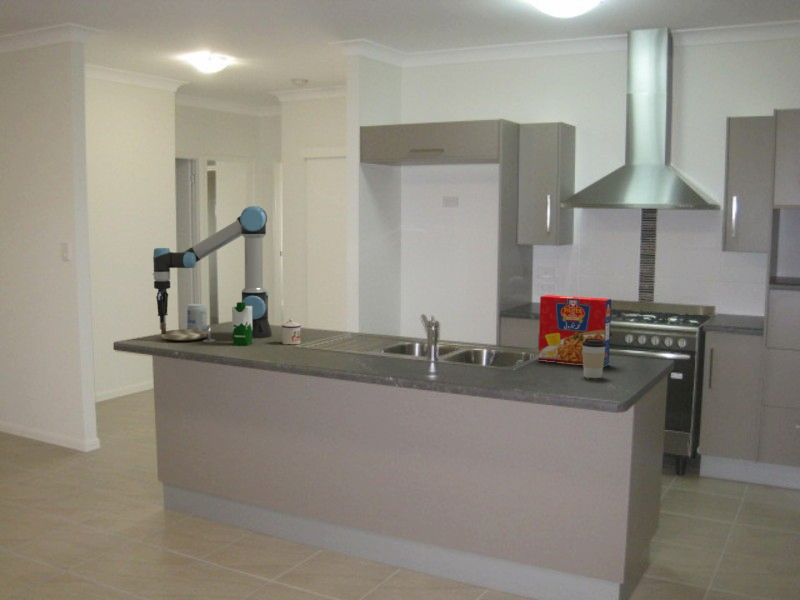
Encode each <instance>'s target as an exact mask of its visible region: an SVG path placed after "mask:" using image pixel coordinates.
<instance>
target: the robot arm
mask: <svg viewBox="0 0 800 600" xmlns="http://www.w3.org/2000/svg"><path fill="white" fill-rule="evenodd" d="M267 222H268V215H267V212H266V211H265V210H264V209H263V208H262V207H260V206H255V205H250V206H247V207H245V208H244V209H243V210H242V211H241V214H240V215H239V216H238V217H237V218H236V221H233V222H231V223H230V224H229V225H227V226H225V227H223V228H222V229H220V230H218V231H217V232H215V233H213V234H212V235H209V236H207V237H206V238H205V239H203V240H201V241H200V242H198V243H196V244H194V245H193V246H192V247H190V248H188V249H185V251H181V252H178V251H177V252H176V251H175V252H172V251H170V248H167V247H155V248H154V249H153V257H152V258H153V259H152V261H153V273H152V275H153V280H154V281H153V288H154V289H156V290H157V293H156V303H157V304H156V305H157V317H159V329H160V330H161V323H166V324H167V316H168V315H169V314H168V302H169V293H168V289H170V288H171V269H194V268H195V267H196V263H198V262H199V261H201V260H203V259H205V258H206V257H207V256H209V255H211V254H213V253H215V252H216V251H217V250H220V249H221V248H223V247H225V246H226V245H229V244H230V243H232V242H233V241H234V240H236V239H238V238H240V237H243V238H244V288H243V289H242V290H241V302H245V306H252V339H253V338H254V339H257V338H260V339H261V338H269V337H272V336H273V333H272V332H273V331H272V328H271V326H270V322H269V292H268V291H267V290H265V288H264V275H263V273H264V270H263V267H264V265H263V264H264V261H263V260H264V252H263V250H264V249H263V248H264V247H263V246H264V242H263V240H264V237H265V236H266V235H267Z"/></svg>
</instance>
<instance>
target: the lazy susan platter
mask: <svg viewBox="0 0 800 600" xmlns="http://www.w3.org/2000/svg"><path fill="white" fill-rule="evenodd" d="M160 330H161V331H160V332H161V333H160V336H161V339H164V340H170V339H172V340H189V339H199V340H200V339H203V338H207V333H203V331H205V330H196V329H183V328H182V329H173V330H167V322H166V323H161V329H160Z"/></svg>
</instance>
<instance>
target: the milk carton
mask: <svg viewBox="0 0 800 600" xmlns="http://www.w3.org/2000/svg"><path fill="white" fill-rule="evenodd" d="M231 310H232V311H231V314H232V315H231V316H232V318H231V321H232V322H231V323H232V345H233V346H242V347H243V346H246V347H247V346H250V345H251V344H252V343H253V338H252V306H245V302H242V301H240V302H239V301H238V302H236V305H234V306H233V307H231Z"/></svg>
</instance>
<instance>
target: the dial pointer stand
mask: <svg viewBox="0 0 800 600" xmlns="http://www.w3.org/2000/svg"><path fill="white" fill-rule="evenodd" d="M211 328H212V327H211V326H206V331H203V333H207V337H206V339H203V340H202V342H203V343H214V342H216V339H213V338H212V329H211Z"/></svg>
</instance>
